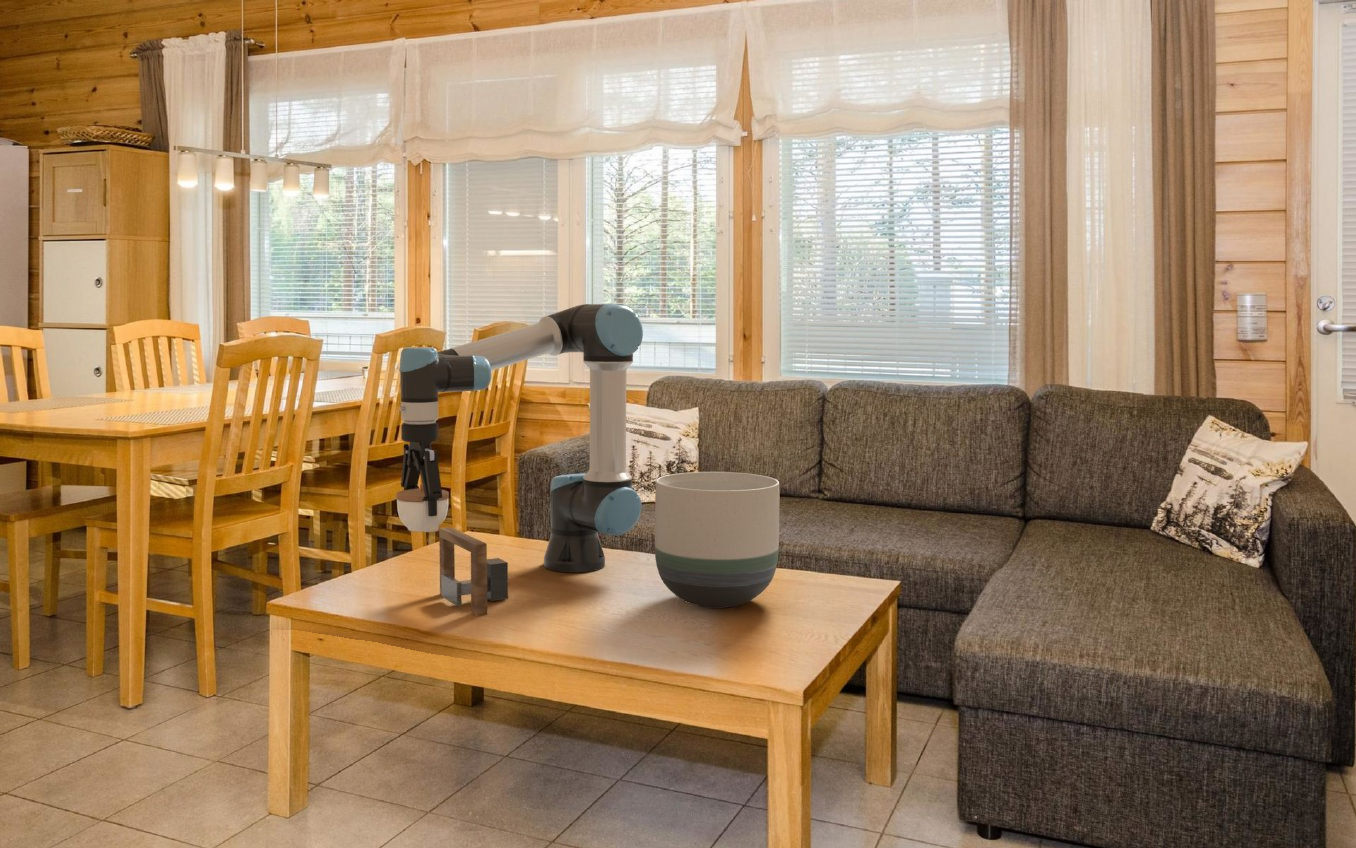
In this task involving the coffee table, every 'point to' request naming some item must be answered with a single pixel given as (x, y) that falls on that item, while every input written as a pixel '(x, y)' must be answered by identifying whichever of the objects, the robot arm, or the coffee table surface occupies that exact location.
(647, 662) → the coffee table surface
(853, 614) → the coffee table surface
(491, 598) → the cube and plate dumbbell
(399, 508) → the lidded jar
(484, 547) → the bridge
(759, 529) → the planter
